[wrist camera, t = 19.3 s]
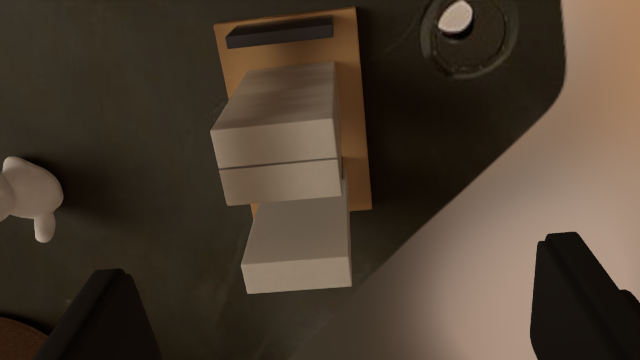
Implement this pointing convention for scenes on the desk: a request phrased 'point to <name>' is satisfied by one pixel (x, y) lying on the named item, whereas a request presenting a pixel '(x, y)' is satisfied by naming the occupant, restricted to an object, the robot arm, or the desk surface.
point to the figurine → (30, 195)
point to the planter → (19, 340)
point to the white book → (299, 245)
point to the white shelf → (347, 86)
